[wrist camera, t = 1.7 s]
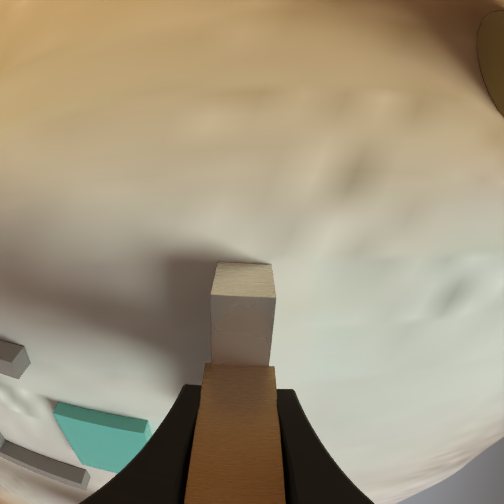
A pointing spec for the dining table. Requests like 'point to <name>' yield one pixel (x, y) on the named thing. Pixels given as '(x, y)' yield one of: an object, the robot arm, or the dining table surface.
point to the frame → (14, 364)
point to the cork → (492, 56)
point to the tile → (102, 436)
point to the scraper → (238, 396)
